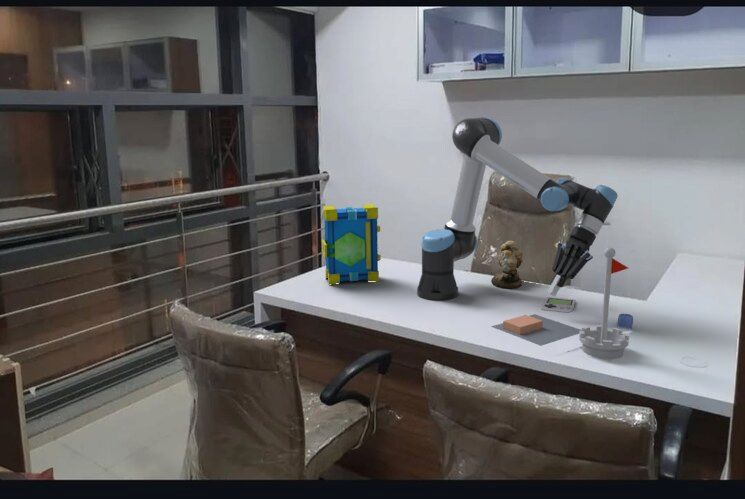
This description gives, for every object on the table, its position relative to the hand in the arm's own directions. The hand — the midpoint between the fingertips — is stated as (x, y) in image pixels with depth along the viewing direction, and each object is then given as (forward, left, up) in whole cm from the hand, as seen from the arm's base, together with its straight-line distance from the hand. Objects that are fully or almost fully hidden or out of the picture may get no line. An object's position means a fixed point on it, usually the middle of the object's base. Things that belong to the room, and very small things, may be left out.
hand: (551, 294), depth 203 cm
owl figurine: (-38, +19, -8) cm, 44 cm away
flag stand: (+28, -10, -8) cm, 31 cm away
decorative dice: (+20, +12, -8) cm, 24 cm away
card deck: (+3, -11, -6) cm, 13 cm away
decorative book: (-77, -27, -8) cm, 82 cm away
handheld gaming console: (-6, +12, -9) cm, 16 cm away
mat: (+6, -12, -8) cm, 16 cm away
